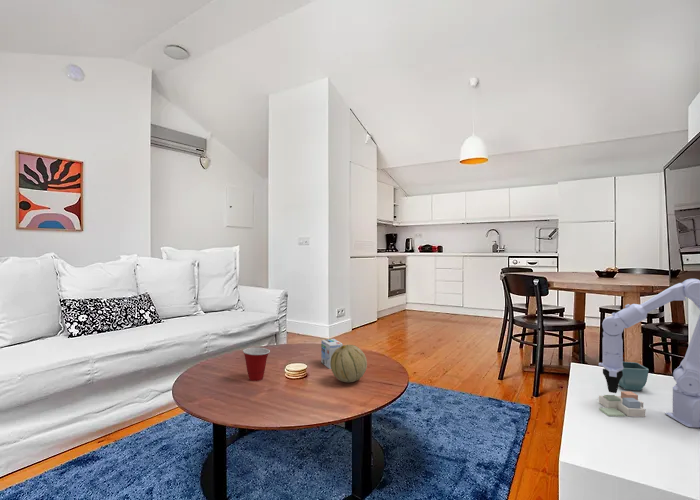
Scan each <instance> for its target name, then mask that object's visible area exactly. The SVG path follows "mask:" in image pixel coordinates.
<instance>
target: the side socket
mask: <svg viewBox="0 0 700 500" xmlns="http://www.w3.org/2000/svg"><path fill="white" fill-rule="evenodd" d="M617 410H618V411H620V412H621V413H623V414H624V415H625V416H626V417H629V418H630V417H633V418H646V409H645V408H644V407H643V408H642V407H640V409H636V408H628V407H626V406H625V405H623V403H618V409H617Z"/></svg>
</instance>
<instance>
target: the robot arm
mask: <svg viewBox="0 0 700 500" xmlns="http://www.w3.org/2000/svg"><path fill="white" fill-rule="evenodd" d="M687 299H689V300H691V301H692V302H693V304H694V305H695V306H696V307H697V308H698V310H699V311H700V279H698V278H688V279H685V280H684V281H682V282H678V283H675V284H674V285H672V286H670V287H668V288H666V289H664V290H663V291H661V292H659V293H658V294H655V295H654V296H652V297H651V298H649V299H647V300H646V301H644V302H642V303H640V304H637V303H632V304H630V303H627V304H625V305H624V308H622V309H620V310H619V311H616V312H612V313H611V315H610V316H606V317H604V319H603V321H602V323H601V325H602V329H603V331H602V339H601V340H602V341H601V342H602V345H601V346H602V362H598V366H599V367H602V368H603V369H602V374H603V376H604V378H605V380H606V381H605V382H606V385H607V386H606V387H607V389H608V392H609V393H613V394H617V392H618V389H619V381H620V379H621V378H622V376H623V372H622V371H621V370H623V369H624V367H623V362H624V357H623V355H624V352H623V349H624V348H623V346H624V345H623V342H624V340H623V337H622V336H623V335H622V334H623V332H624V330H625V329H629V328H631V327H633V326H635V325H637V324H638V323H640V322H643V321H644V320H646V319H647V317H648V313H650V312H652V311H655V310H656V309H659V308H661V307H662V306H665V305H666V304H668V303H670V302H673V301H687ZM672 377H673V380H674V381H675V382H676V383H675V385H673V386H672V412H664V413H665V415H666V416H668V417H670V418H671V419H673V420H675V421H677V422H678V423H680V424H682V425H684V426H685V427H687V428H697V429H698V428H700V314H699V316H698V318H697V321H696V324H695V326H694V330H693V332H692V335H691V338H690V341H689V344H688V347H687V349H686V352H685V355H684V358H683V359H682V360H681V361H680V364H679V366H677V368H674V370H673V372H672Z"/></svg>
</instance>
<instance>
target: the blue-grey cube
mask: <svg viewBox="0 0 700 500" xmlns="http://www.w3.org/2000/svg"><path fill="white" fill-rule="evenodd" d="M638 400H639V399H638ZM638 400H636V399H634V398H623V405H625V406H626V407H628V408H636V409H640V401H641V400H640V401H638Z"/></svg>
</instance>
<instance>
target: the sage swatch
mask: <svg viewBox="0 0 700 500" xmlns="http://www.w3.org/2000/svg"><path fill="white" fill-rule="evenodd" d="M598 411H600V412H602V413H603V414H605V415H606V416H607V417H623V418H624V417H625V416H626V415H625V414H624V413H622V412H621V411H619V410H618V409H615V408H606V407H599V408H598Z"/></svg>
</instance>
